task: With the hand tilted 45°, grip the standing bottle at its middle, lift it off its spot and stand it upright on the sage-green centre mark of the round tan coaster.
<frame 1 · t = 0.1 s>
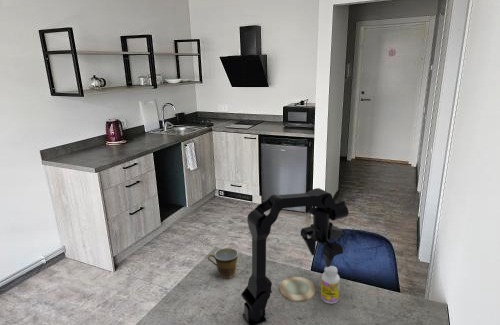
hand: (320, 260, 124), 15 cm above the table, tool pointing down, fingers open, 9 cm apart
round tan coaster: (297, 290, 131), on the table
supplement bottle: (329, 299, 125), on the table
ceramic cup: (224, 274, 143), on the table
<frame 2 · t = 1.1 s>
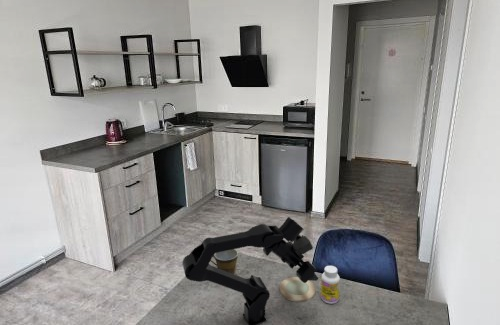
hand: (311, 272, 120), 13 cm above the table, tool tilted 45°, fingers open, 9 cm apart
nothing on the table moved.
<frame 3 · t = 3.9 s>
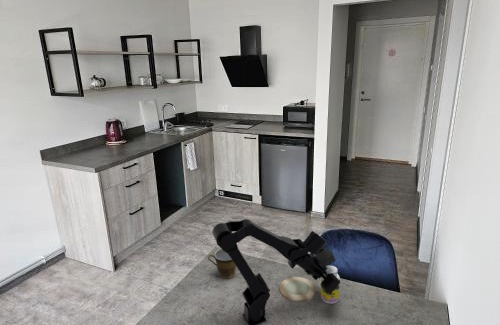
hand: (333, 282, 124), 7 cm above the table, tool tilted 45°, fingers closed on supplement bottle, 7 cm apart
supplement bottle: (329, 299, 125), on the table, touching gripper
everything else where it was.
when the fingers open (9 cm above the table, at t = 7.9 s): supplement bottle stays where it is, resting on round tan coaster.
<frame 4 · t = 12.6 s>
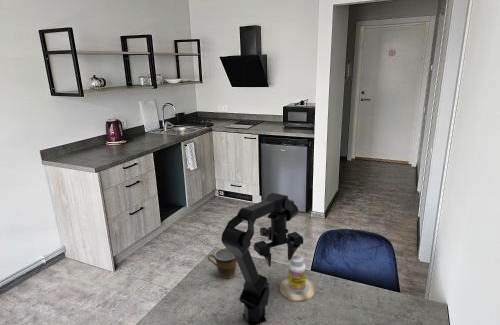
hand: (279, 263, 126), 13 cm above the table, tool pointing down, fingers open, 8 cm apart
supplement bottle: (297, 287, 130), point 1 cm above the table, touching round tan coaster, gripper
everything else where it was.
at the end: supplement bottle inside the target area on the round tan coaster (0.1 cm from its centre), point 1.2 cm above the round tan coaster's base; supplement bottle tilted 0°; the gripper is holding nothing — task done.
